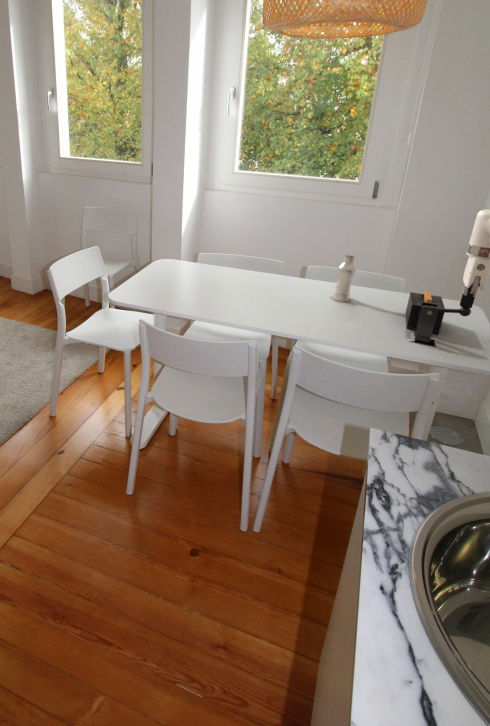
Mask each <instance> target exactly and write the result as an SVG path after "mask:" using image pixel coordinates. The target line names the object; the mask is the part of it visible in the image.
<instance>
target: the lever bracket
mask: <svg viewBox="0 0 490 726" xmlns="http://www.w3.org/2000/svg"><path fill="white" fill-rule="evenodd" d="M424 305H429V306H424ZM431 306H434V307H431ZM437 313H438V308H437V304H436V303H430V302H423V301H422V304H421V308H420V312H419V316H418V320H417V324H416V328H415V331H414V332H413V337H414V340H409V341H408V342H409V343H413V344H419V345H423V346H427V347H433V348H436V347H437V345H436V342H435V341H436V340H435V339H431V338H432V335H433V334H432V332H433V328H434V324H435V320H436V316H437Z"/></svg>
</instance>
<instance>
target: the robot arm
mask: <svg viewBox="0 0 490 726" xmlns="http://www.w3.org/2000/svg"><path fill="white" fill-rule="evenodd" d="M465 253H466V255H467V256H468V259H467V262H466V265H465V268H464V273H463V277H462V281H463V284H464V288H463V293H462V294H461V298H460V300H459V306H460V308H461V307H466V308H470V309H472V308H473V305H474V302H475V299H476V296H477V292H478V289H479V288H480V290H481V291H485V290H486V287H487V283H488V279H489V276H490V209H481V210H480V211H478V213H477V214H476V218H475V220H474V225H473V228H472V231H471V235H470V239H469V242H468V246H467V250H466V252H465Z"/></svg>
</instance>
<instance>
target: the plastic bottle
mask: <svg viewBox="0 0 490 726" xmlns="http://www.w3.org/2000/svg"><path fill="white" fill-rule="evenodd" d="M354 262H355V256H354V255H349V254H347V255H344V258H343V262H341V264H340V265H339V266H338V268H337V279H336V280H337V281H336V285H335V289H334V291H333V293H332V299H333V300H335V301H338V302H349V301H350V298H351V297H350V296H351V287H352V282H353V279H354V276H355V273H356V266H355V264H354Z"/></svg>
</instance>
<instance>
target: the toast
mask: <svg viewBox="0 0 490 726" xmlns="http://www.w3.org/2000/svg"><path fill="white" fill-rule="evenodd" d="M423 294H424V298H423V302H430V303H432V298H431V291H430V290H424V293H423Z"/></svg>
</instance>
